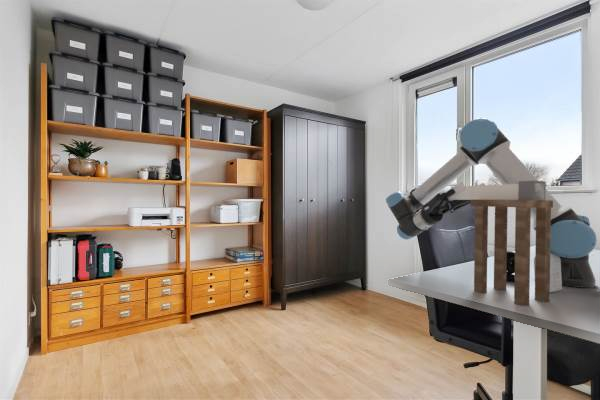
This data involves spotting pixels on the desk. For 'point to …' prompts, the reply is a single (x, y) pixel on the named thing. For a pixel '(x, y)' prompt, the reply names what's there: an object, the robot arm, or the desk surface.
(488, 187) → the light grey bar
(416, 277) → the desk surface
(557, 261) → the photo printer
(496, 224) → the walnut stand
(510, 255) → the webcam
